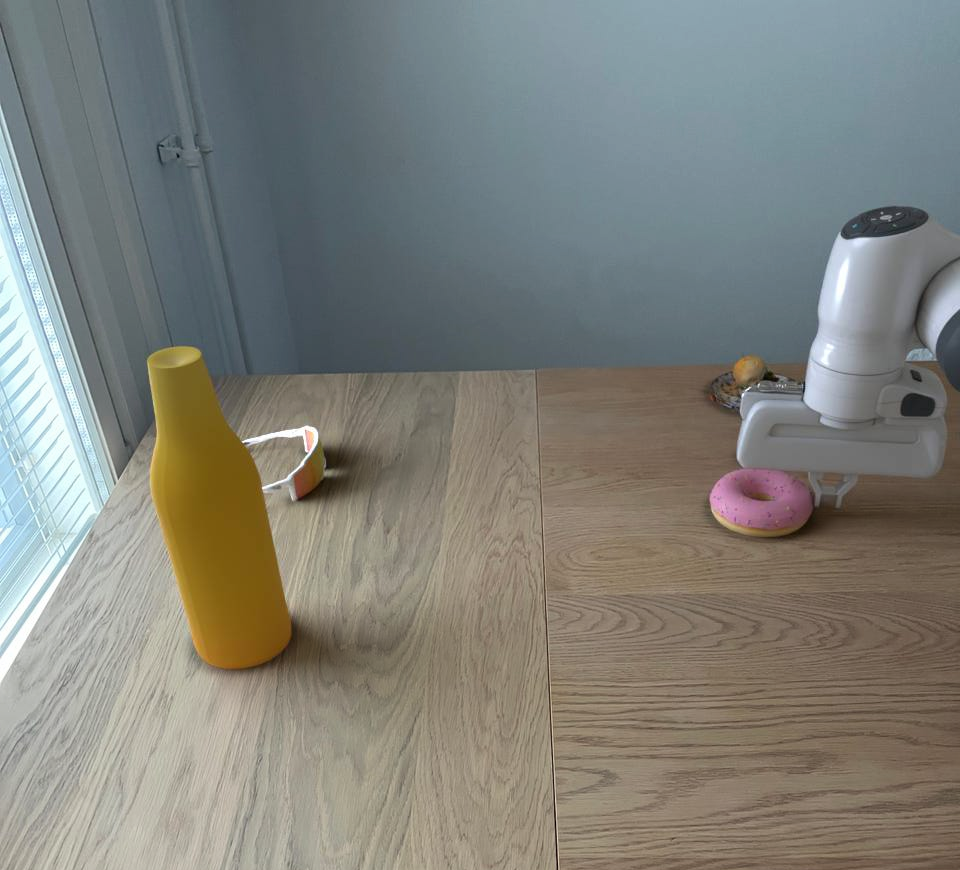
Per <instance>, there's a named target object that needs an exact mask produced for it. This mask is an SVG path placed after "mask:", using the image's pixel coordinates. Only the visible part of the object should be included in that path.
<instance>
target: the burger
mask: <svg viewBox="0 0 960 870" xmlns="http://www.w3.org/2000/svg"><path fill="white" fill-rule="evenodd" d="M741 353H742V358H740V359H738V361H737V362H736V363H735V364H734V366H733V368H732V370H731V371H729V372H726V373H723V374H721V375H720V376H718V377H716V378H715V379H713V380H712V382H711V384H710V389H709V390H710V392H709V394H710V396H709V399H710V400H711V401H712V402H715V403H719V404H720V406H722V407H723V408H724V409H727V410H729V411H730V412H734V413H739V407H740V400H741V396H742V394H743V392H744V391H745V390H746V389H747V388H748V387H750V386H752V385H756V384H758V382H759V381H772V382H797V381H796V380H795V379H793V378H790V377H789V376H788V377H787V376H785V375H784V374H783V375H782V374H780V373H777V372H773V371H772V370H768V368H767V365H766V362H765V360H764V359H763V358H762V357H760V356H758V355H747V356H744V352H743V349H742V348H741ZM753 390H757V388H756V389H753ZM802 393H803V392H802Z"/></svg>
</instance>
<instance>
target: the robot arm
mask: <svg viewBox="0 0 960 870" xmlns="http://www.w3.org/2000/svg"><path fill="white" fill-rule="evenodd" d="M817 317H818V330H817V333H816V336H815V338H814V339H813V342H812V344H811V347H810V349H809V355H808V361H807V366H806V371H805V377H804V378H805V379H804V380H803V381H796V382H772V381H759V382H758V384H756V385H752V386H750V387H748V388H747V389H746V390H745V391H744V392H743V394H742V396H741V400H740V407H739V412H738V413H739V416H740V418H741V419H742V422H741V425H740V429H739V433H738V436H737V437H738V438H737V444H736V459H737V460H736V461H737V462H738V463H739V465H740V466H741V467H742V469H745V468H746V469H763V470H779V471H782V472H801V473H802V472H803V473H807V477H808V482H809V483H810V486H811V488H812V490H813V495H812V504H813V508H814V507H815V508H833V509H840V508H841V506H842V501H843V498H844V496H845V495H846V494H847V493H848V492H849V491H851V490H852V489H853V488H854V486H856V484H858V480H859V476H875V477H893V478H908V479H909V478H910V479H911V478H913V479H931V478H932V477H934V476H935V475H937V474H938V473H939V472H940V471H941V469H942V467H943V463H944V459H945V453H946V448H947V441H948V428H947V425H946V420H945V418H944V415H945V413H946V411H947V407H948V397H947V392H946V389H945V387H944V384H943V382H942V380H941V379H940V378H939V376H938V374H937V373H936V372H934V371H933V370H930V369H927V368H925V367H922V366H918V365H915V364H913V363H910V362H908V361H907V362H906V360H907V357H908V355H909V354H910V353H911V352H912V351H914V350H928V351H929V352H930V354H931V355H932V356H933V357H934V358H935V360H936V362H937V364H938V366H939V367H940V369H941V371H942V372H943V374H944V376H945V378H946V379H947V381H948V383H949V384H950V385H951V387H952V388H953V389H954V390H956V391H957V392H958V393H960V234H957V233H955V232H953V231H951V230H949V229H948V228H946V227H944V226H943V225H941V224H939V223H938V222H937V221H935V220H934V219H933V218H932V217H931V216H930V214H929V213H928V212H926V211H925V210H924V209H921V208H919V207H914V206H909V205H908V206H903V205H899V206H897V205H889V206H881V207H876V208H872V209H869V210H866V211H864V212H861V213H859V214H858V215H856V216H854V217H853V218H850V220H848V221H847V222H845V224H844V225H843V226H842V227H841V229H840V231H839V232H838V234H837V236H836V237H835V240H834V243H833V245H832V248H831V251H830V254H829V257H828V261H827V265H826V268H825V272H824V276H823V281H822V286H821V290H820V294H819V300H818V305H817ZM756 388H757V390H753V389H756ZM802 392H803V393H802ZM824 474H838V475H842V477H841V479H840V480H839V481H838V482H837V483H836V485H835V486H833V485H831V486H829V485H822V483H821V481H823V478H824Z"/></svg>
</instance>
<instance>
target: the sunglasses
mask: <svg viewBox="0 0 960 870" xmlns="http://www.w3.org/2000/svg"><path fill="white" fill-rule="evenodd" d="M295 437H296V438H297V437H302V438H303V443H304V451H305V452H306V453H307V455H305V457H304V458H303V460H302V461H300V464H299V466H298V467H296V468H295V469H294V470H293V471H291V472H290V473H289V474H288V476H287V478H284V479H282V480H279V481H276V482H273V483H271V484H268V485H265V486H262V489H263V494H267V493H270V494H271V493H278V492H280V491H281V490H285V489H289V494H290V497H291V501H293V502H295V501H298V500H299V499H301V498H302V497H304V496H306V495H307V494H309V493H310V492H312V491H313V490H314V489H315V488H316V487H318V485H319V484H320V483H321V481H323V480H324V476H325V470H326V467H327V459H326V457H325V454H324V448H323V445H322V441H321V439H320V433H319V431H318V430H317V428H316V427H314V426H313V427H312V426H311V425H310V426H309V425H304V426H302V427H299V428H291V429H285V430H281V431H276V432H272V433H271V432H270V433H267V434H263V435H260V436H256V437H251V438H248V439H245V440H243V441H242V440H241V441H242V442H243V444H244V445H245V446H246V447H247V446H251V445H254V444H260V443H263V442H264V441H268V440H271V439H275V438H290V439H292V438H295Z"/></svg>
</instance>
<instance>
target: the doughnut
mask: <svg viewBox="0 0 960 870" xmlns="http://www.w3.org/2000/svg"><path fill="white" fill-rule="evenodd" d="M709 493H710V494H709V504H710V509H711V512H712V515H713V516H714V518H715V519H716V520H717V521H718V523H720V524H721V525H722V526H723V527H725V528H727V529H729V530H730V531H733V532H735V533H738V534H741V535H745V536H748V537H756V538H776V537H783V536H786V535H790V534H792V533H794V532H796V531H799V530H800V529H801V528H802V527H803V526H804V525H805V524H806V523H807V522H808V520H809V518H810V516H811V515H812V512H813V510H814V506H813V497H812V495H811V494H813V492H812V491H810V490H809V488H808V485H807V484H806V485H805V483H804V482H802V480H800V479H798V476H794V475H791V474H790V473H787V472H786V471H781V470H763V469H746V468H738V469H737V470H733V471H732V470H730V471H728V472H727V474H725V475H723V476H720V477H719V479H718V481H717V482H716V483H715V485H714V487H713V488H712V490H711V491H709Z"/></svg>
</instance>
